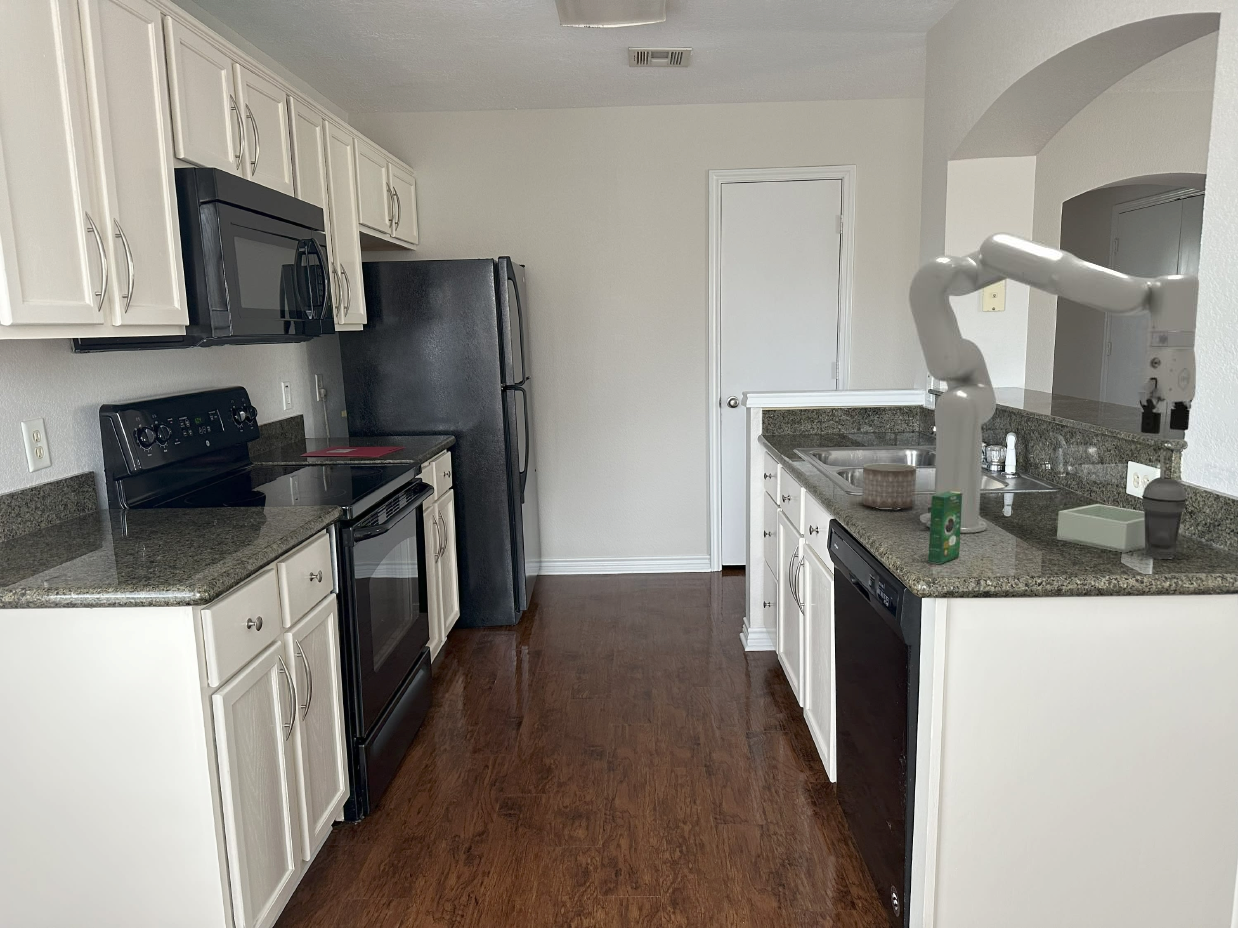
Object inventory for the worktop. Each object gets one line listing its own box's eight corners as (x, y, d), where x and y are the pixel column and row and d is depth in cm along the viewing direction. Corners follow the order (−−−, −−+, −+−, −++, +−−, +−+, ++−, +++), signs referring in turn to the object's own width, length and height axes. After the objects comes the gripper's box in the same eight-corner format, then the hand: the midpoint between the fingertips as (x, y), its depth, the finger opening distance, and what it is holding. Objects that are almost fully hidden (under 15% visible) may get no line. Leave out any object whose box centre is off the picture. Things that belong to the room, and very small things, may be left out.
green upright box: (946, 554, 169) (949, 489, 167) (960, 557, 167) (963, 491, 165) (926, 562, 164) (929, 494, 162) (941, 565, 162) (944, 496, 160)
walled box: (1124, 553, 168) (1126, 523, 167) (1056, 539, 180) (1058, 511, 179) (1162, 543, 175) (1165, 515, 174) (1095, 530, 187) (1097, 503, 186)
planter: (922, 506, 216) (924, 465, 215) (902, 514, 207) (904, 472, 205) (874, 500, 224) (875, 461, 223) (853, 508, 215) (854, 467, 213)
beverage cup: (1165, 563, 161) (1174, 458, 158) (1128, 554, 167) (1136, 453, 164) (1190, 558, 164) (1199, 455, 161) (1153, 550, 170) (1161, 450, 167)
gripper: (1166, 342, 155) (1159, 436, 157) (1216, 340, 163) (1209, 430, 166) (1124, 342, 161) (1118, 433, 164) (1175, 341, 170) (1169, 427, 172)
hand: (1164, 431), depth 165 cm, fingers open, 9 cm apart
